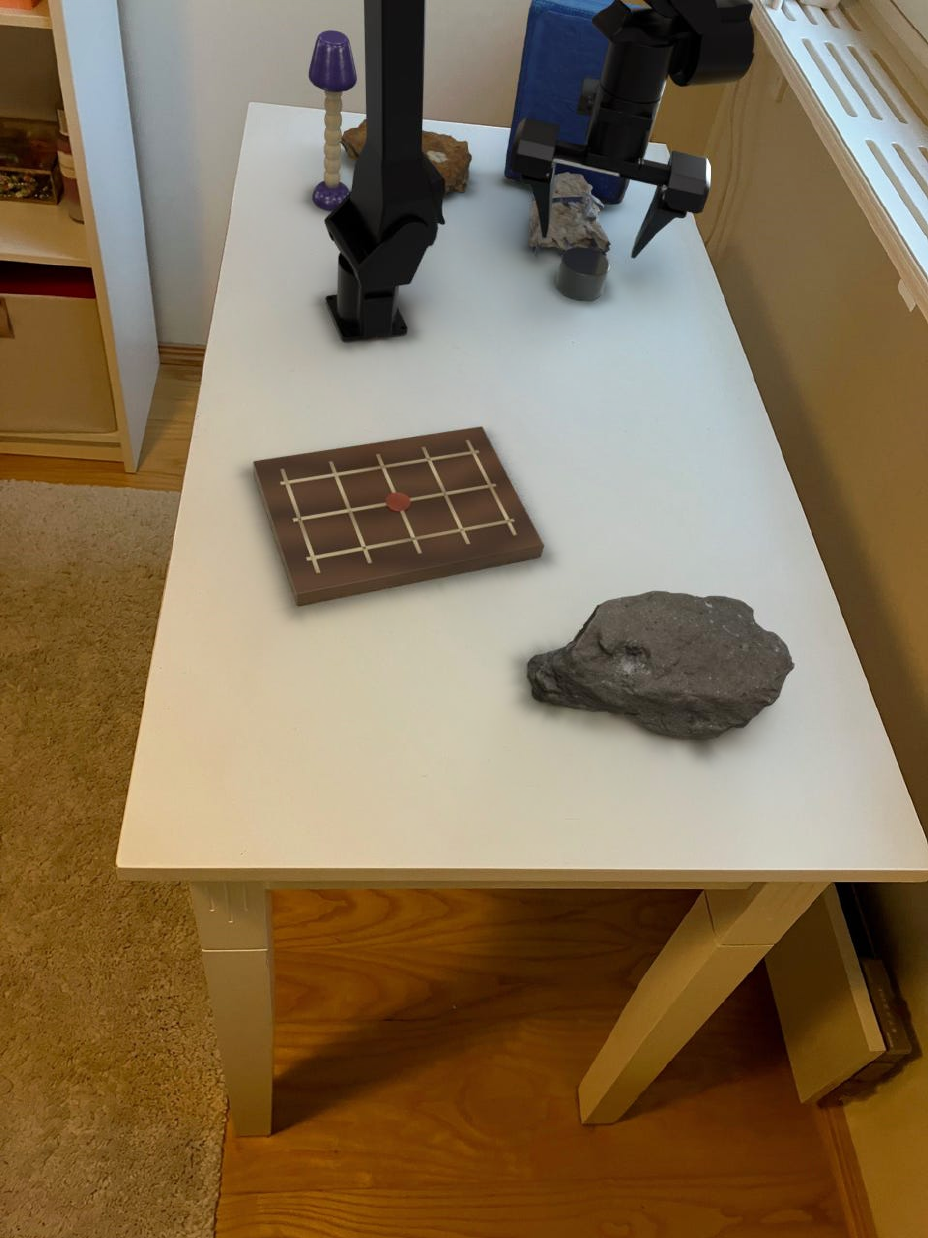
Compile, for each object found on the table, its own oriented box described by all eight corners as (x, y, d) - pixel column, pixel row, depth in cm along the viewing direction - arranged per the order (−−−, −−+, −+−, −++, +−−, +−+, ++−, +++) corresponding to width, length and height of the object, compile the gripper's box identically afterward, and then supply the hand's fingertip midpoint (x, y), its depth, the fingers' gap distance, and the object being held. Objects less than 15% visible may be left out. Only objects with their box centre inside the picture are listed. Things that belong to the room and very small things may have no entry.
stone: (549, 752, 64) (568, 610, 61) (516, 698, 72) (532, 570, 69) (796, 751, 68) (827, 618, 64) (739, 700, 76) (764, 579, 73)
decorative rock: (328, 188, 106) (462, 215, 107) (330, 152, 102) (468, 182, 103) (345, 131, 112) (471, 158, 113) (347, 96, 109) (477, 125, 110)
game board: (253, 473, 78) (252, 459, 77) (479, 438, 85) (482, 424, 83) (297, 606, 71) (297, 593, 70) (541, 557, 77) (545, 544, 76)
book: (626, 192, 112) (677, 3, 97) (620, 215, 109) (672, 24, 93) (507, 164, 113) (538, -29, 97) (498, 186, 110) (529, -10, 94)
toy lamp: (349, 216, 102) (356, 50, 89) (305, 210, 102) (305, 42, 89) (353, 192, 105) (361, 28, 92) (311, 186, 105) (312, 20, 91)
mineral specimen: (524, 194, 110) (530, 158, 106) (596, 203, 111) (604, 167, 107) (529, 269, 101) (536, 233, 98) (607, 278, 102) (616, 242, 98)
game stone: (548, 273, 101) (554, 248, 99) (591, 270, 102) (598, 245, 100) (565, 302, 98) (572, 277, 96) (609, 299, 100) (617, 274, 97)
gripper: (733, 71, 90) (680, 224, 102) (539, 27, 90) (510, 185, 102) (733, 126, 83) (677, 283, 96) (523, 79, 83) (494, 242, 96)
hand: (588, 245), depth 97 cm, fingers open, 9 cm apart
